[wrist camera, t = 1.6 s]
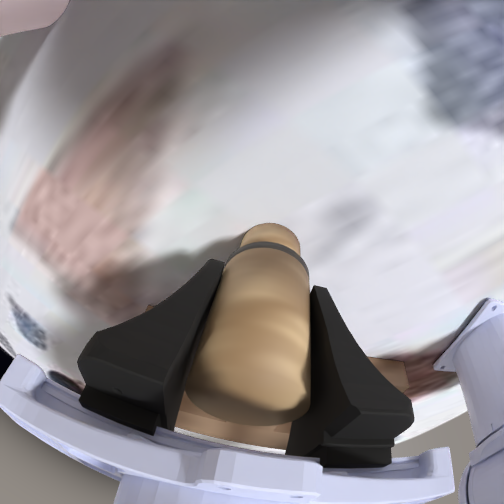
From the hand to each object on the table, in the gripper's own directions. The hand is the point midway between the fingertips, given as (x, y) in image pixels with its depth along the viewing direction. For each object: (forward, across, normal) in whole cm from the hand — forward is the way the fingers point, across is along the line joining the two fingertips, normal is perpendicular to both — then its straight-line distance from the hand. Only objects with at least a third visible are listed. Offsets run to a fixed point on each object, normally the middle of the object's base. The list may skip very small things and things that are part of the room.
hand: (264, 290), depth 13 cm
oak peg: (+3, 0, 0) cm, 3 cm away
